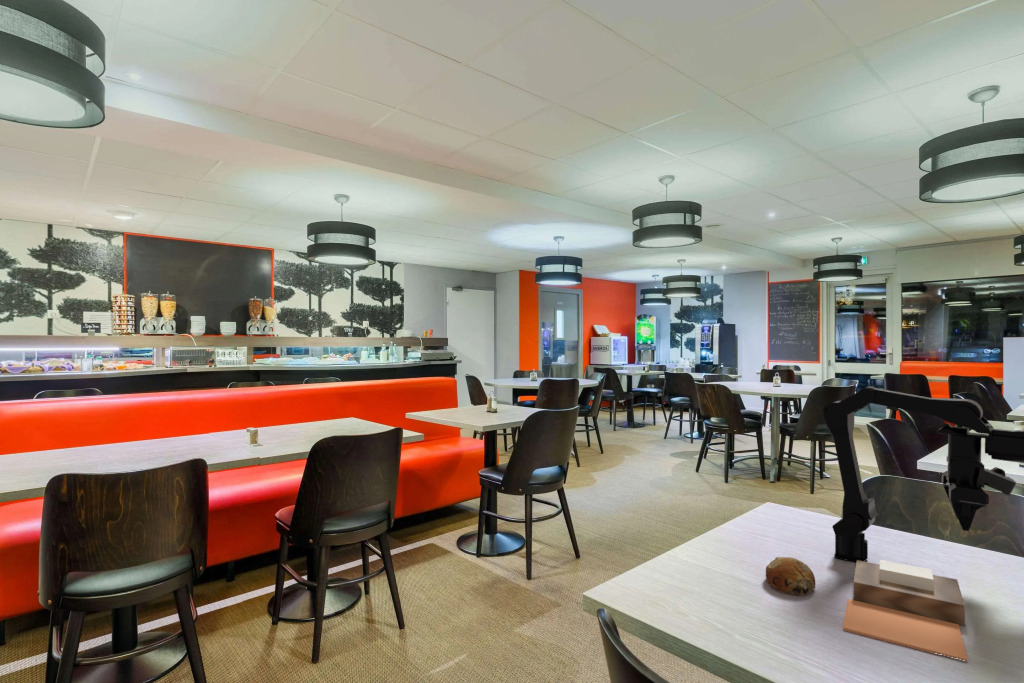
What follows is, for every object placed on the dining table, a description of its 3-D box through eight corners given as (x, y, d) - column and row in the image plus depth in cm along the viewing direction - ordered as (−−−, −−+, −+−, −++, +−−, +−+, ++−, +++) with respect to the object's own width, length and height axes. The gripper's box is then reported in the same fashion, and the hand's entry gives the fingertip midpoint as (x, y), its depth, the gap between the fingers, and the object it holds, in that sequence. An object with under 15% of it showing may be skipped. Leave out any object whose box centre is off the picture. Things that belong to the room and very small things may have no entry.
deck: (853, 600, 113) (853, 581, 113) (856, 577, 124) (856, 560, 124) (964, 626, 103) (964, 605, 103) (957, 598, 114) (957, 579, 114)
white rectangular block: (879, 580, 114) (879, 568, 114) (880, 570, 118) (879, 559, 119) (933, 591, 108) (933, 579, 108) (931, 580, 113) (931, 569, 113)
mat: (843, 630, 101) (843, 627, 101) (847, 601, 113) (847, 598, 113) (967, 662, 91) (967, 659, 91) (958, 627, 102) (958, 624, 102)
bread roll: (814, 600, 121) (812, 563, 124) (818, 598, 112) (816, 558, 115) (765, 592, 125) (765, 556, 128) (765, 589, 116) (765, 551, 120)
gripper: (1022, 469, 108) (1021, 545, 108) (1003, 453, 124) (1002, 520, 124) (951, 461, 114) (950, 533, 114) (942, 447, 130) (940, 511, 130)
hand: (962, 524), depth 121 cm, fingers open, 9 cm apart
